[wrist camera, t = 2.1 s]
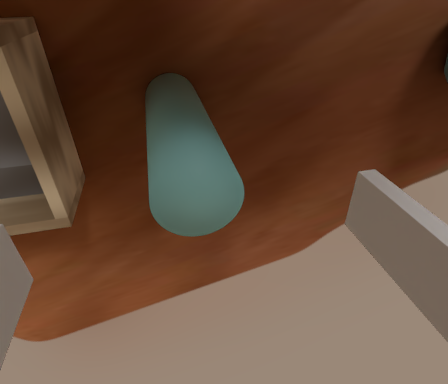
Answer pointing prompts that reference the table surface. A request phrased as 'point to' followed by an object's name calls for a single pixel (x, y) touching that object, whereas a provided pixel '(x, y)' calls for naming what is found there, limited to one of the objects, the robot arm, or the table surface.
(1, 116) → the crate
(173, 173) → the peg
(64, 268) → the table surface
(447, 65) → the flower pot
